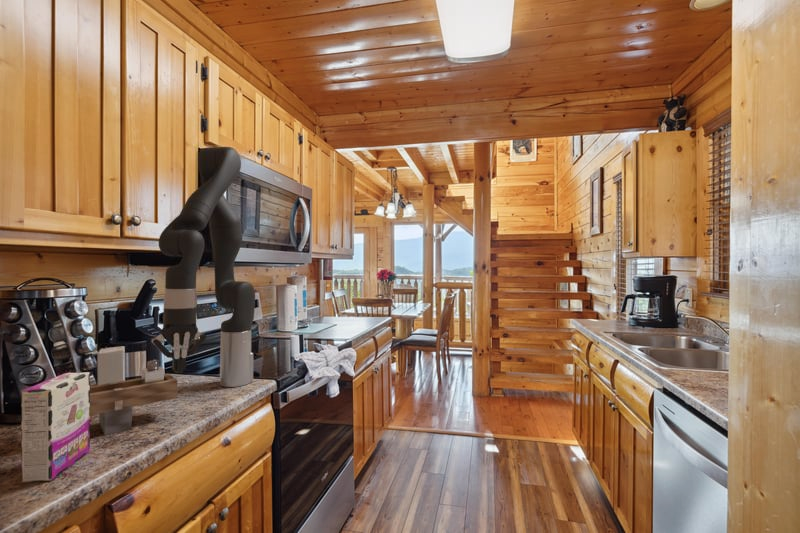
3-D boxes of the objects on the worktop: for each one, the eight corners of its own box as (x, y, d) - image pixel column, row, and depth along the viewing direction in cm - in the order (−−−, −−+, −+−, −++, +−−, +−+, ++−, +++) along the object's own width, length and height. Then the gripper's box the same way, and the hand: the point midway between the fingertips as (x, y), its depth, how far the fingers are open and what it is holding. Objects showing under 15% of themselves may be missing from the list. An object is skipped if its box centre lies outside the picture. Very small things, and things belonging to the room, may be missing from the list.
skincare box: (124, 404, 105) (125, 350, 105) (95, 409, 101) (97, 352, 101) (125, 396, 112) (126, 344, 112) (99, 399, 108) (100, 347, 108)
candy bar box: (62, 453, 78) (64, 372, 78) (90, 451, 78) (92, 371, 79) (17, 484, 67) (19, 389, 67) (50, 482, 67) (52, 388, 68)
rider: (159, 385, 99) (160, 358, 99) (163, 389, 96) (164, 361, 96) (141, 389, 96) (141, 361, 96) (144, 393, 93) (145, 364, 93)
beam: (167, 408, 103) (168, 372, 103) (177, 418, 96) (177, 380, 96) (45, 434, 86) (46, 392, 86) (47, 448, 79) (48, 402, 79)
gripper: (202, 303, 108) (201, 365, 108) (147, 306, 99) (145, 373, 98) (212, 305, 102) (210, 370, 102) (154, 308, 93) (152, 380, 93)
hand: (178, 372), depth 100 cm, fingers closed
